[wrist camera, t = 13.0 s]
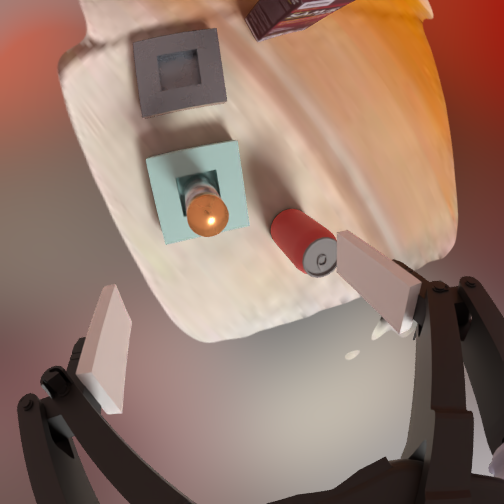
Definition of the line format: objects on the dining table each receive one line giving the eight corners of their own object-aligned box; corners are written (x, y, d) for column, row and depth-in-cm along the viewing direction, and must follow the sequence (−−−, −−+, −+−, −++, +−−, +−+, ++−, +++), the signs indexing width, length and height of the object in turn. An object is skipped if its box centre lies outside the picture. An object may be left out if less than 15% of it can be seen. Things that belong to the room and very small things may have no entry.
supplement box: (257, 44, 32) (301, 4, 18) (243, 19, 30) (280, -31, 16) (306, 30, 33) (365, -3, 19) (293, 6, 30) (345, -35, 16)
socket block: (148, 157, 36) (145, 159, 33) (232, 139, 38) (237, 140, 35) (166, 235, 41) (165, 244, 38) (244, 218, 43) (249, 225, 40)
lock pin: (181, 178, 38) (183, 201, 25) (209, 172, 38) (225, 192, 26) (186, 205, 39) (191, 240, 27) (214, 199, 40) (231, 231, 28)
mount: (135, 48, 28) (132, 42, 26) (213, 35, 30) (216, 28, 28) (145, 118, 33) (142, 117, 31) (223, 103, 35) (227, 101, 33)
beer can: (271, 249, 46) (299, 286, 36) (267, 211, 43) (298, 239, 33) (307, 242, 47) (344, 274, 37) (306, 204, 45) (346, 229, 34)
